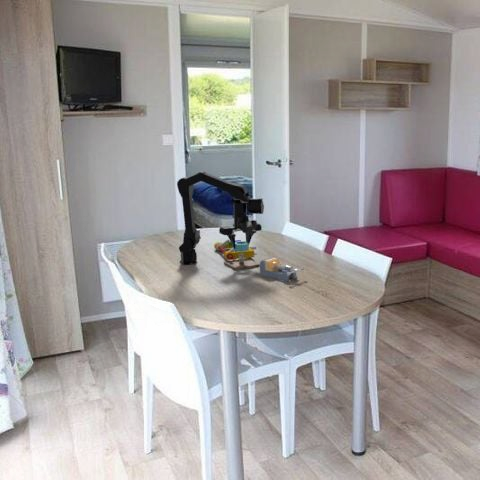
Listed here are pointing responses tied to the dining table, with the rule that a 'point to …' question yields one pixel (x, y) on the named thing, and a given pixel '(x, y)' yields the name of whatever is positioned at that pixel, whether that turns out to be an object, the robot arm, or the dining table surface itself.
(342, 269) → the dining table surface
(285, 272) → the vise
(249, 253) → the yellow jointed frame
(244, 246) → the ring
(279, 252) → the dining table surface
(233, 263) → the post stand
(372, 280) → the dining table surface
